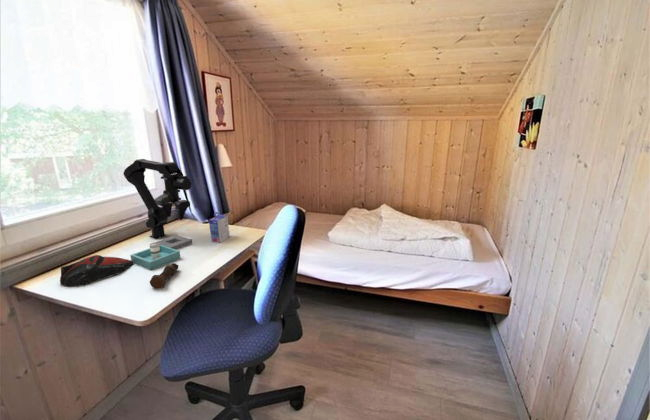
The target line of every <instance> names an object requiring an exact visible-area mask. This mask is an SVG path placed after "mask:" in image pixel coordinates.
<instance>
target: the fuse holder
mask: <svg viewBox="0 0 650 420" xmlns="http://www.w3.org/2000/svg"><path fill="white" fill-rule="evenodd" d="M156 242H158V243H159V245H163V246H166V247H169V248H172V249H175V250H179V249H182V248H184V247H187V246H189V245H192V244H193V239H190V238H188V237H185V236H184V237H183V236H181V235H178V234H175V235H173V236H169V237H167V238H166V237H165V238H163V239H159V240H158V241H156Z"/></svg>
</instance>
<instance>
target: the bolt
mask: <svg viewBox="0 0 650 420" xmlns="http://www.w3.org/2000/svg"><path fill="white" fill-rule="evenodd" d="M178 269H179V264H177V263H174V262H171V264H166V266H165V267H164V269H163V270H162V272H161V273H159V274H154V275H152V276H151V279H150V280H149V285H150V286H151V287H152V288H153V289H155V290H156V289H157V290H159V289H163V288H164V287H165V286H166V283H167V280H168V279H169V278H170V277H174V276H175V275H176V273H177V271H178Z"/></svg>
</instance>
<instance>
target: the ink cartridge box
mask: <svg viewBox="0 0 650 420" xmlns="http://www.w3.org/2000/svg"><path fill="white" fill-rule="evenodd" d="M213 216H214V217H212V218H210V219H208V223H209V225H208V226H209V232H210V233H209V234H210V239H211V243H217V244H220V243H222V242H223V241H225V240H226V239H228V238H229V237H230V229H229V227H230V226H229V219H228V217H229V216H228V215H227V214H219V212H218V211H217V212H214V213H213Z"/></svg>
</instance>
